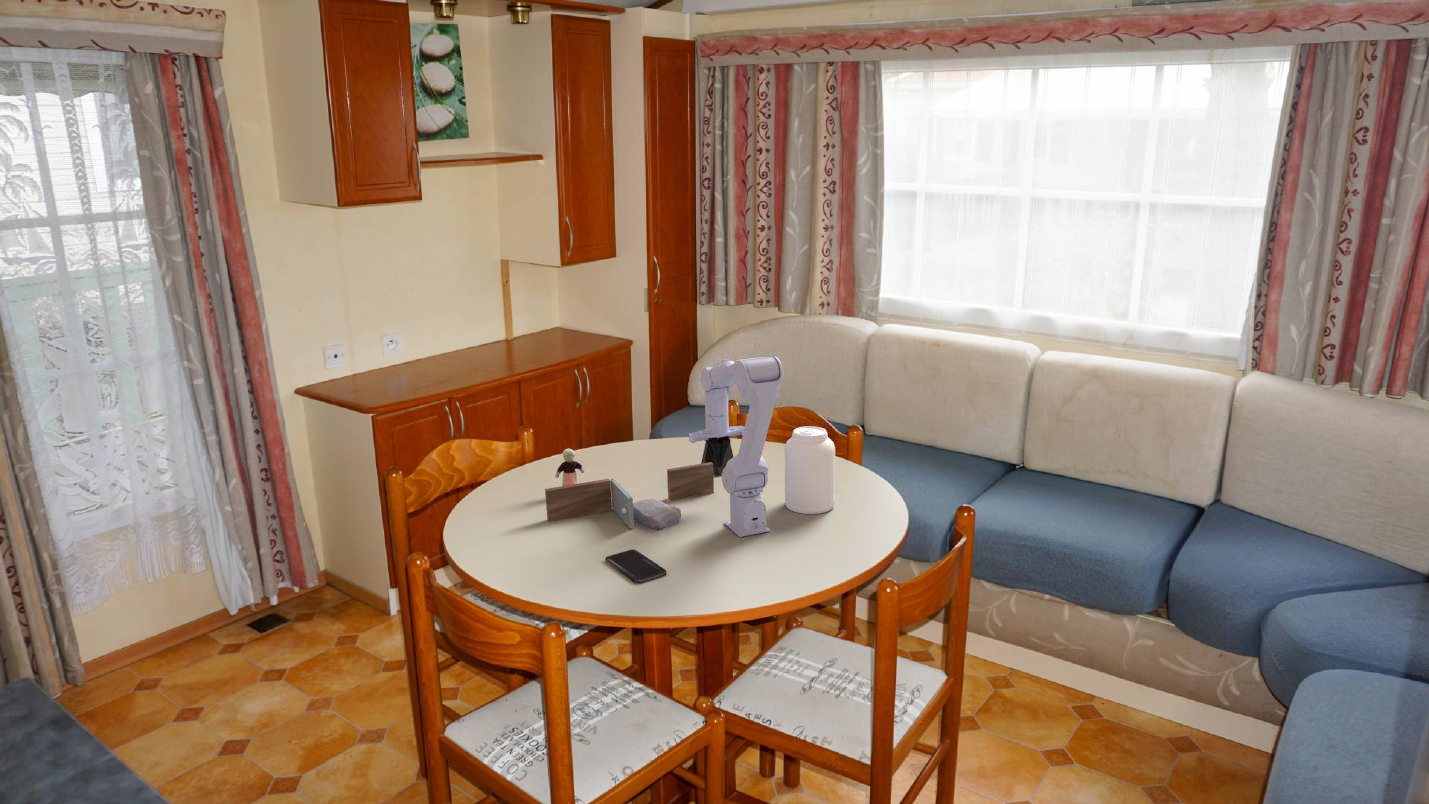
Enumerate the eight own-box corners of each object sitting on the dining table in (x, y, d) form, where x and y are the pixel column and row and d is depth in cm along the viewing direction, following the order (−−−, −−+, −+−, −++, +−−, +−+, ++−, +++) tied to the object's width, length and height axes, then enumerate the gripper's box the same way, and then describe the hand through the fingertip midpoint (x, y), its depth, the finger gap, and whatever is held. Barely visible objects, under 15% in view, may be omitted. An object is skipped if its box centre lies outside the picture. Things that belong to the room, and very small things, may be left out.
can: (809, 519, 239) (809, 440, 234) (774, 505, 248) (773, 429, 243) (845, 506, 247) (846, 430, 241) (809, 493, 256) (809, 419, 251)
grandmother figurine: (561, 499, 256) (558, 453, 252) (555, 495, 259) (551, 449, 256) (588, 493, 260) (585, 447, 256) (581, 489, 263) (578, 443, 260)
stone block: (655, 514, 249) (624, 518, 243) (658, 496, 249) (627, 499, 242) (686, 529, 241) (655, 533, 234) (689, 510, 240) (657, 514, 233)
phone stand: (736, 471, 273) (735, 430, 270) (719, 476, 270) (718, 434, 266) (717, 463, 280) (716, 423, 277) (700, 468, 277) (699, 427, 274)
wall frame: (713, 492, 258) (713, 463, 256) (548, 521, 242) (546, 490, 240) (711, 490, 259) (710, 462, 257) (547, 519, 243) (544, 489, 241)
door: (606, 508, 248) (605, 480, 246) (615, 506, 249) (613, 478, 247) (624, 529, 235) (623, 499, 233) (633, 527, 236) (632, 497, 234)
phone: (636, 581, 207) (603, 557, 219) (637, 586, 207) (603, 562, 219) (668, 571, 211) (634, 548, 223) (669, 576, 212) (634, 552, 224)
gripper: (737, 405, 250) (738, 456, 253) (683, 413, 244) (685, 465, 248) (748, 412, 243) (749, 464, 247) (694, 420, 238) (695, 473, 242)
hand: (718, 465), depth 247 cm, fingers closed
